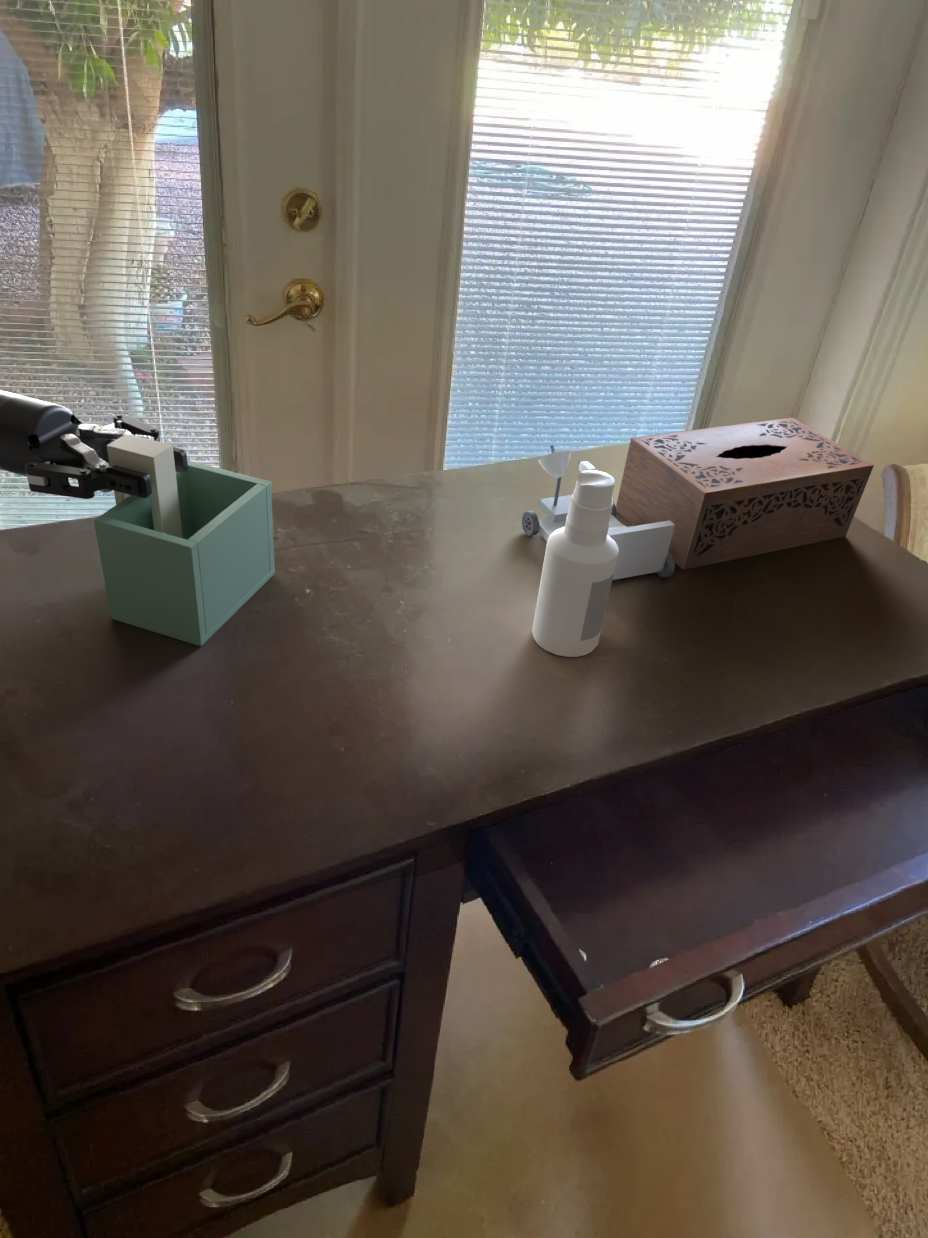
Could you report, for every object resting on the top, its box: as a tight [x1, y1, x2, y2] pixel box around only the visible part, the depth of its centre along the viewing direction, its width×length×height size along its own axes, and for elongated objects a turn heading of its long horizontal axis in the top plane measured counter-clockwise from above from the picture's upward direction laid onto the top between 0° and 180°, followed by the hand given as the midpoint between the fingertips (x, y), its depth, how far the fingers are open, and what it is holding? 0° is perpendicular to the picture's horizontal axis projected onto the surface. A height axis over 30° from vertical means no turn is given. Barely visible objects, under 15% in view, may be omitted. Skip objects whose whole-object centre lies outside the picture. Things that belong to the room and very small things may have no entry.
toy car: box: [521, 444, 676, 581], centre depth 102 cm, size 18×10×12 cm
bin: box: [93, 459, 276, 647], centre depth 87 cm, size 14×10×11 cm
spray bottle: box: [531, 469, 619, 658], centre depth 85 cm, size 7×7×18 cm
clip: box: [107, 434, 183, 538], centre depth 85 cm, size 5×3×11 cm, turn 71°
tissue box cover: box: [615, 416, 875, 571], centre depth 110 cm, size 26×14×10 cm, turn 115°
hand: (166, 473), depth 83 cm, fingers open, 5 cm apart
